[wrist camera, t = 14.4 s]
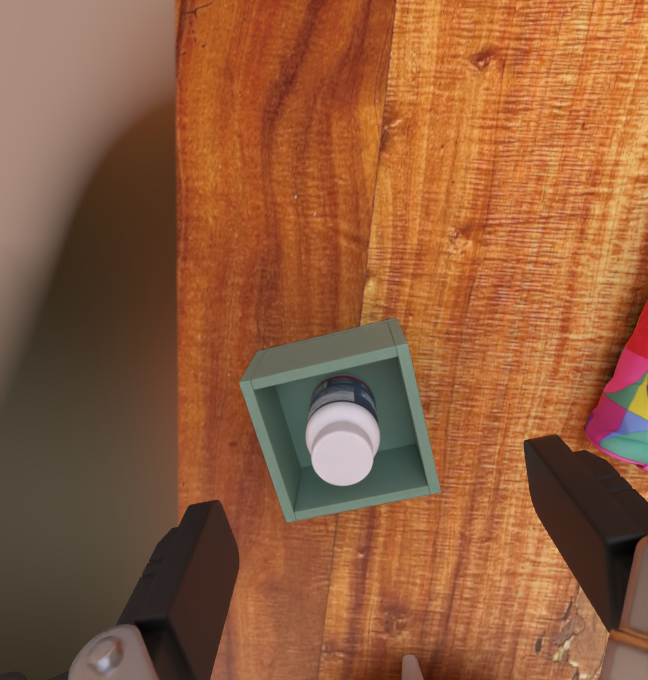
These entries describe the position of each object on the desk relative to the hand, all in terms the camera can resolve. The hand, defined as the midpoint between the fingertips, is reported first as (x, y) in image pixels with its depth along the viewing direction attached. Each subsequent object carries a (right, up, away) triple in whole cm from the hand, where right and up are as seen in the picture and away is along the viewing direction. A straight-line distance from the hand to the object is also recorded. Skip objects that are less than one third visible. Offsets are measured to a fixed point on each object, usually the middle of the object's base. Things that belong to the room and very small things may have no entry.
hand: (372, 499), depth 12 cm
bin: (0, -1, +27) cm, 27 cm away
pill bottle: (0, -1, +26) cm, 26 cm away
